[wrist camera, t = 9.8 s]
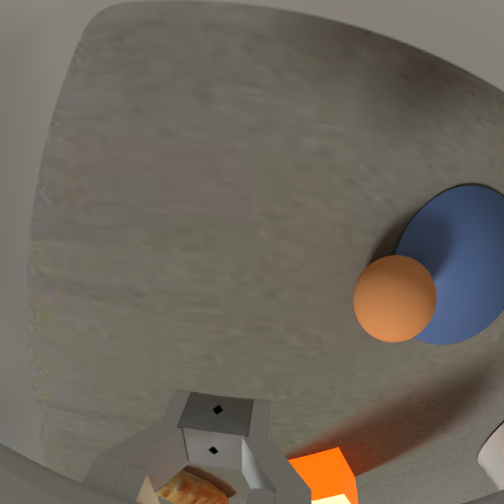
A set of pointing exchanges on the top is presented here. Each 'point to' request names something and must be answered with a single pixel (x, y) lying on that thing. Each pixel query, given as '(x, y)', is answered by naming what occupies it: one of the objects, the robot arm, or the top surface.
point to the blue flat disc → (460, 260)
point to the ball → (394, 298)
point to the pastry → (191, 490)
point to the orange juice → (327, 477)
